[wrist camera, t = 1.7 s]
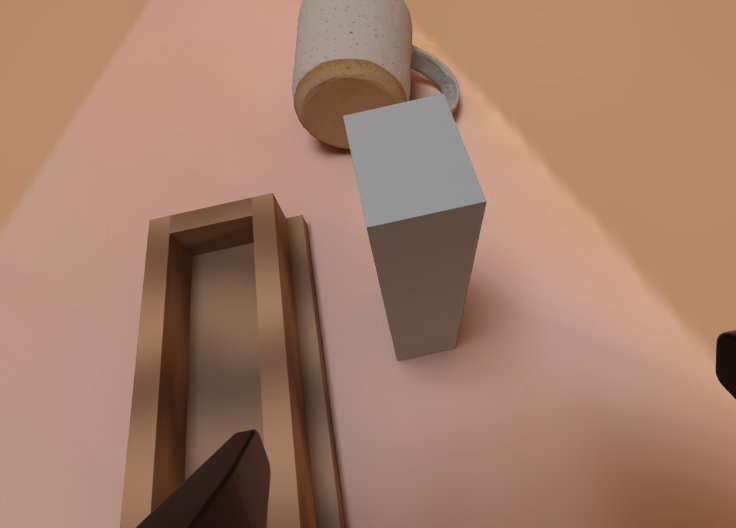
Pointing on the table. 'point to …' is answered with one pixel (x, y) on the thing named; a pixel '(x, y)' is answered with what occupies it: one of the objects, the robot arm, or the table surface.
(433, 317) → the tall grey pillar block
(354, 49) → the ceramic mug
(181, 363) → the open rectangular wooden box
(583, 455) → the table surface
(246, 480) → the robot arm
